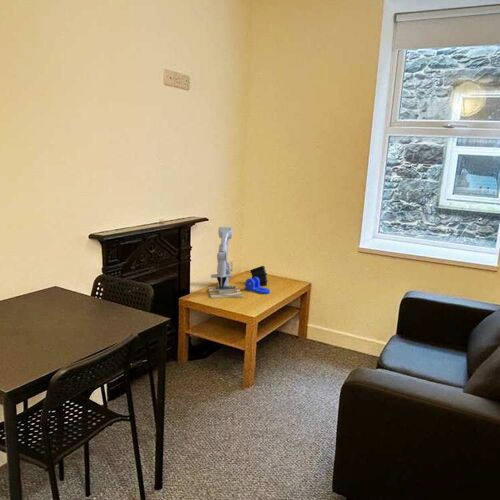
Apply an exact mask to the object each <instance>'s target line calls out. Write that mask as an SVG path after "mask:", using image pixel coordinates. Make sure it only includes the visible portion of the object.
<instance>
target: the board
mask: <svg viewBox="0 0 500 500" xmlns="http://www.w3.org/2000/svg"><path fill="white" fill-rule="evenodd" d="M236 288H237V293H234V291H233V294H219V293H218V290H216V289H215V293H213V287H208V289H209V290H208V292H209V296H210V298H211V299H242V298H244V295H243V293H242V292H241V289H240V287H237V286H236Z"/></svg>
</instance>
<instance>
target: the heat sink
mask: <svg viewBox="0 0 500 500" xmlns="http://www.w3.org/2000/svg"><path fill="white" fill-rule="evenodd" d="M217 287H219V286H218V285H217ZM221 287H222V286H221ZM223 287H233V285H229V286H223ZM217 290H218V293H219V294H233V289H217Z"/></svg>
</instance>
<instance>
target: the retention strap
mask: <svg viewBox="0 0 500 500" xmlns="http://www.w3.org/2000/svg"><path fill="white" fill-rule="evenodd" d="M233 286H234V285H233ZM233 286H232V287H223V288H222V287H221V288H220V287H218V286H214V287H215V289H216V290H217V289H235V288H236V287H237V285H236V286H234V287H233Z"/></svg>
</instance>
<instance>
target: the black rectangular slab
mask: <svg viewBox="0 0 500 500" xmlns="http://www.w3.org/2000/svg"><path fill="white" fill-rule="evenodd" d="M249 273H250V274H251V278H252V277H258V278H259V280H260V287H262V286H263V287H267V285H268V283H269V282H268V277H267V275H268V273H267V272H266V266H264V265H260V266H258V267H255V268H252V269H250V272H249ZM255 282H256V281H255Z"/></svg>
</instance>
